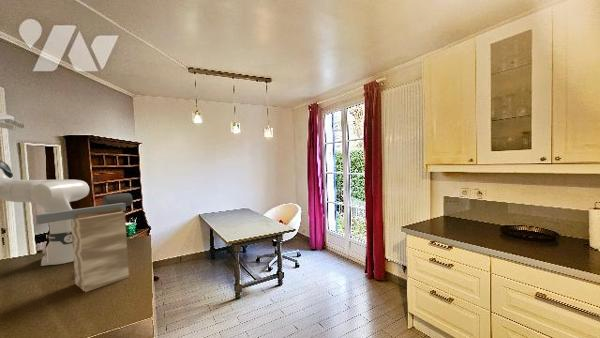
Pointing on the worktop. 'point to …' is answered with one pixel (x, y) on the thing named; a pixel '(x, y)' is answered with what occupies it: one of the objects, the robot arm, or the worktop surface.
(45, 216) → the grey bar
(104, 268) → the tan streaked block
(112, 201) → the rubber mallet
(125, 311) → the worktop surface
